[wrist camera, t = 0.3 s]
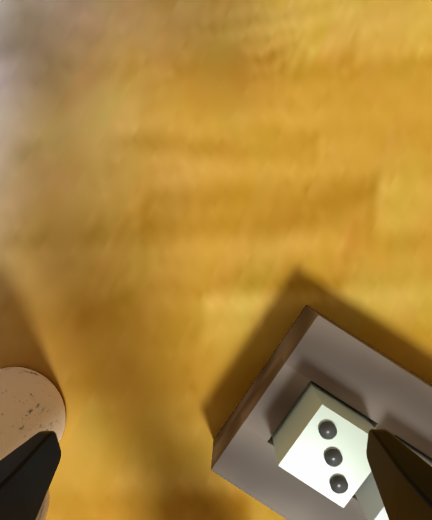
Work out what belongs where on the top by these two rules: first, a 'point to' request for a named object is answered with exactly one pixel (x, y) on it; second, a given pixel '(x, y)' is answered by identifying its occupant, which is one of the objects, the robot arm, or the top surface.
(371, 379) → the grey tray with tiles
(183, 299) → the top surface
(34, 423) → the teacup with lid
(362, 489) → the tile two
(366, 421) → the tile three
